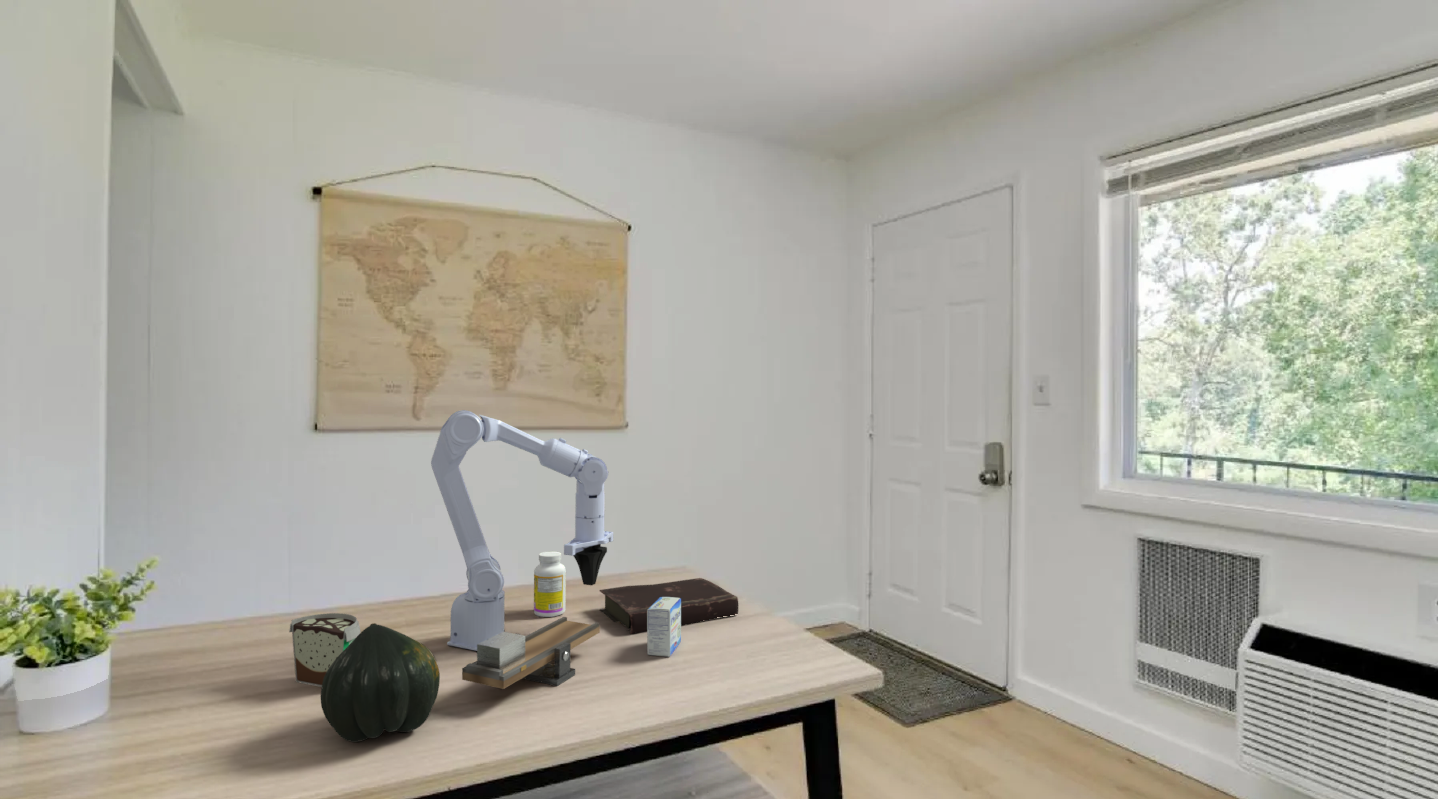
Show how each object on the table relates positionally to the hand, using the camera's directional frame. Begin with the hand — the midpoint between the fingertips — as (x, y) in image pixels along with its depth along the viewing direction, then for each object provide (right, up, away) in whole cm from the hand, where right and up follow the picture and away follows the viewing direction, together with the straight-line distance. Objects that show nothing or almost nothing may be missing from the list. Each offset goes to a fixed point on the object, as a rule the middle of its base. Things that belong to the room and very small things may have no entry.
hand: (589, 584), depth 139 cm
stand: (-5, -10, -21) cm, 24 cm away
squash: (-22, -10, -41) cm, 47 cm away
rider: (-8, -5, -29) cm, 31 cm away
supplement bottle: (-11, -9, +11) cm, 18 cm away
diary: (+15, -10, +12) cm, 22 cm away
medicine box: (+16, -10, -9) cm, 21 cm away
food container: (-38, -10, -24) cm, 46 cm away
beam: (-5, -6, -21) cm, 23 cm away
